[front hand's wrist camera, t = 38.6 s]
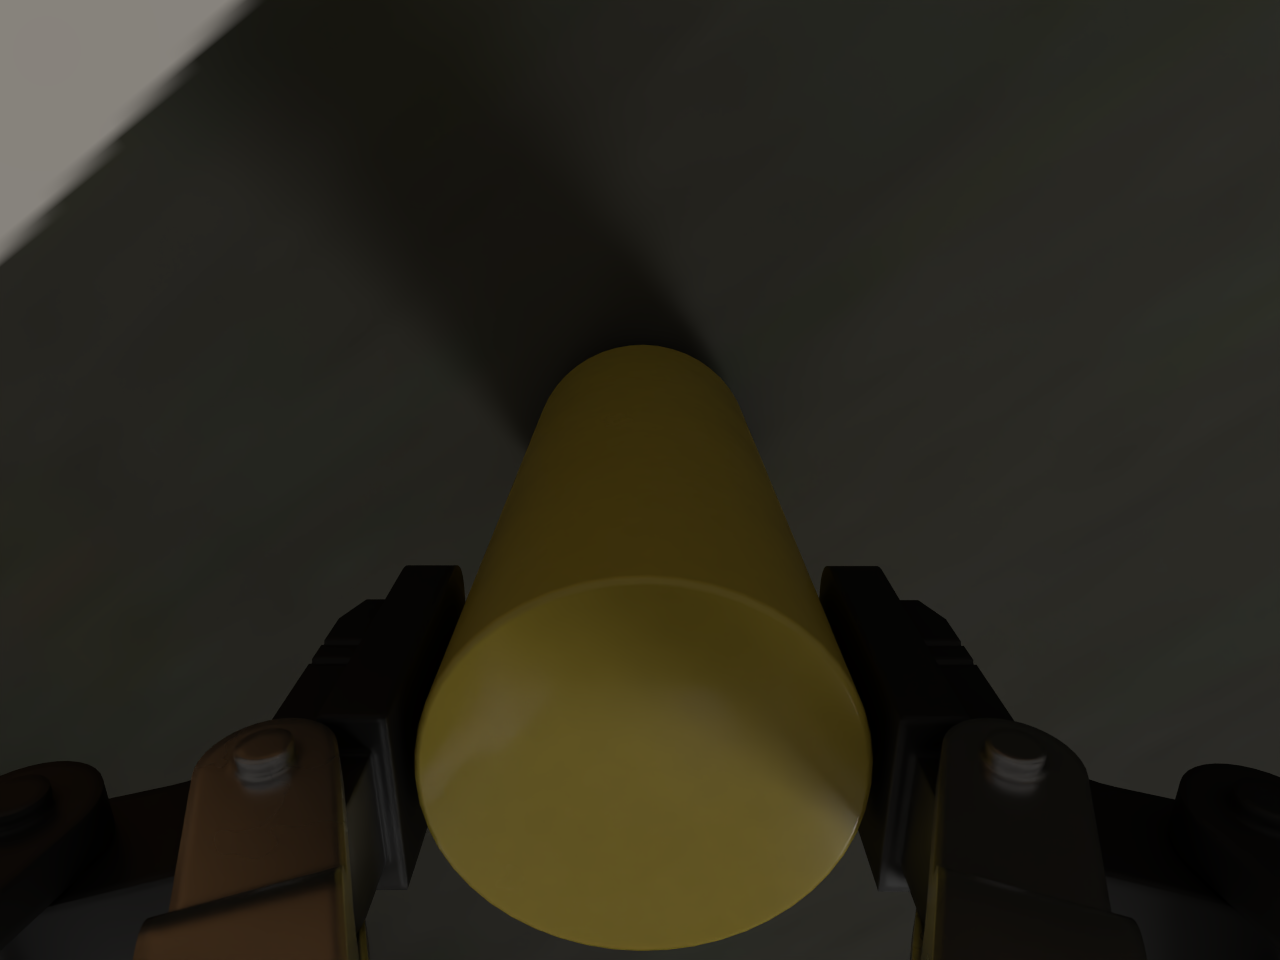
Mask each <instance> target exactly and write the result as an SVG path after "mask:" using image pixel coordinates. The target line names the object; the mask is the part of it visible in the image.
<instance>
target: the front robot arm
mask: <svg viewBox="0 0 1280 960" xmlns="http://www.w3.org/2000/svg"><path fill="white" fill-rule="evenodd" d="M819 600H820V602H821V605H822V607H823V610H824V612H825V614H826V617H827V619H828V622H829V624H830V627H831V629H832V631H833V634H834V636H835V639H836V641H837V644H838V646H839V648H840V651H841V653H842V656H843V658H844V660H845V663H846V665H847V668H848V670H849V673H850V675H851V677H852V680H853V682H854V685H855V687H856V689H857V692H858V694H859V697H860V699H861V702H862V704H863V706H864V709H865V713H866V716H867V720H868V724H869V728H870V731H871V738H872V748H873V773H872V784H871V788H870V793H869V797H868V802H867V806H866V810H865V813H864V815H863V818H862V820H861V823H860V826H859V828H858V831H859V834H860V837H861V840H862V843H863V846H864V849H865V852H866V855H867V858H868V861H869V864H870V867H871V870H872V873H873V876H874V879H875V882H876V886H877V889H878V891H910V892H911V895H912V898H913V900H914V903H915V906H916V914H915V921H914V927H913V933H912V941H911V952H910V960H1280V777H1278V776H1275V775H1273V774H1270V773H1267V772H1264V771H1260V770H1257V769H1253V768H1249V767H1244V766H1239V765H1231V764H1206V765H1201V766H1197V767H1194V768H1192V769H1190V770H1189V771H1187V772H1186V773H1185V774H1184V775H1183V777H1182V779H1181V781H1180V784H1179V788H1178V791H1177V795H1176V798H1175V800H1174V799H1169V798H1165V797H1160V796H1155V795H1151V794H1146V793H1141V792H1136V791H1132V790H1127V789H1122V788H1118V787H1113V786H1109V785H1105V784H1102V783H1098V782H1095V781H1092V780H1089V778H1088V774H1087V771H1086V768H1085V766H1084V765H1083V763H1082V761H1081V760H1080V759H1079V757H1078V756H1077V755H1076V754H1075V753H1074V752H1073V751H1072V750H1071V749H1070V748H1069V747H1068V746H1067V745H1065V744H1064V743H1062V742H1061V741H1060V740H1058V739H1057V738H1055V737H1053V736H1051V735H1050V734H1048V733H1046V732H1044V731H1042V730H1039V729H1037V728H1035V727H1032V726H1029V725H1026V724H1023V723H1019V722H1016V721H1014V720H1013V718H1012V717H1011V715H1010V714H1009V713H1008V711H1007V710H1006V708H1005V707H1004V705H1003V704H1002V702H1001V701H1000V699H999V698H998V696H997V695H996V693H995V692H994V690H993V689H992V687H991V686H990V684H989V683H988V681H987V680H986V678H985V677H984V675H983V674H982V672H981V671H980V669H979V668H978V666H977V665H974V664H973V659H972V657H971V656H970V655H969V653H968V652H967V650H966V649H965V647H964V646H961V641H960V640H959V638H958V637H957V635H956V634H955V632H954V631H953V629H952V628H951V626H950V625H949V623H948V622H947V620H946V619H945V618H943V617H942V616H940V615H939V614H937V613H936V612H934V611H933V610H931V609H930V608H929V607H927V606H926V605H924V604H923V603H921V602H920V601H918V600H899V598H898V596H897V595H896V593H895V591H894V590H893V588H892V586H891V585H890V583H889V581H888V580H887V578H886V576H885V575H884V573H883V571H882V570H881V568H880V567H878V566H826V567H825V568H824V570H823V573H822V577H821V585H820V596H819ZM464 605H465V592H464V582H463V575H462V571H461V568H460V567H459V566H458V565H408V566H405V567H404V568H403V570H402V572H401V573H400V575H399V577H398V578H397V580H396V582H395V584H394V585H393V587H392V589H391V590H390V592H389V594H388V595H387V597H386V599H385V600H365V601H364V602H362V603H361V604H359V605H358V606H356V607H355V608H354V609H352V610H351V611H349V612H348V613H346V614H345V615H343V616H342V617H341V618H339V619H338V621H337V622H336V624H335V625H334V627H333V628H332V630H331V631H330V633H329V634H328V636H327V637H326V639H325V640H324V645H321V647H320V648H319V650H318V651H317V653H316V654H315V656H314V657H313V659H312V664H309V665H308V666H307V668H306V669H305V671H304V672H303V674H302V675H301V677H300V678H299V680H298V681H297V683H296V684H295V686H294V687H293V689H292V690H291V692H290V693H289V695H288V696H287V698H286V699H285V701H284V702H283V704H282V705H281V707H280V708H279V710H278V711H277V713H276V714H275V716H274V717H273V719H272V720H268V721H264V722H261V723H257V724H254V725H251V726H248V727H245V728H243V729H241V730H238V731H236V732H234V733H232V734H230V735H229V736H227V737H225V738H223V739H222V740H220V741H219V742H218V743H216V744H215V745H213V746H212V747H211V748H210V749H209V750H208V751H207V752H206V753H205V754H204V755H203V756H202V757H201V759H200V760H199V761H198V763H197V765H196V766H195V768H194V771H193V774H192V778H191V780H190V781H187V782H183V783H179V784H175V785H171V786H167V787H162V788H157V789H153V790H148V791H143V792H139V793H134V794H129V795H124V796H120V797H115V798H110V799H108V795H107V792H106V788H105V785H104V781H103V778H102V776H101V774H100V773H99V772H98V771H97V770H96V769H95V768H94V767H92V766H90V765H88V764H84V763H80V762H72V761H56V762H48V763H42V764H37V765H32V766H28V767H25V768H22V769H18V770H15V771H12V772H10V773H7V774H4V775H2V776H0V960H370V952H369V941H368V933H367V927H366V921H365V918H366V916H367V913H368V910H369V908H370V905H371V902H372V899H373V897H374V894H375V891H376V890H407V889H408V886H409V883H410V880H411V877H412V874H413V871H414V867H415V864H416V861H417V858H418V855H419V852H420V849H421V846H422V843H423V839H424V836H425V833H426V830H427V827H428V826H427V823H426V820H425V818H424V815H423V812H422V809H421V806H420V803H419V798H418V793H417V787H416V781H415V776H414V748H415V741H416V735H417V728H418V724H419V721H420V718H421V715H422V711H423V708H424V705H425V702H426V699H427V697H428V694H429V692H430V690H431V687H432V685H433V682H434V680H435V677H436V675H437V672H438V670H439V667H440V665H441V662H442V660H443V657H444V655H445V652H446V650H447V647H448V645H449V642H450V640H451V637H452V635H453V632H454V630H455V627H456V625H457V622H458V620H459V617H460V615H461V612H462V610H463V607H464Z"/></svg>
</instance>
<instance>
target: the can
mask: <svg viewBox="0 0 1280 960" xmlns="http://www.w3.org/2000/svg"><path fill="white" fill-rule="evenodd" d="M872 773H873V748H872V738H871V731H870V728H869V724H868V720H867V716H866V713H865V709H864V706H863V704H862V702H861V699H860V697H859V694H858V692H857V689H856V687H855V685H854V682H853V680H852V677H851V675H850V673H849V670H848V668H847V665H846V663H845V660H844V658H843V656H842V653H841V651H840V648H839V646H838V644H837V641H836V639H835V636H834V634H833V631H832V629H831V627H830V624H829V622H828V619H827V617H826V614H825V612H824V610H823V607H822V605H821V602H820V600H819V598H818V595H817V593H816V590H815V588H814V585H813V583H812V581H811V578H810V576H809V573H808V571H807V569H806V566H805V564H804V561H803V559H802V556H801V554H800V552H799V549H798V547H797V544H796V542H795V539H794V537H793V535H792V532H791V530H790V527H789V525H788V523H787V520H786V518H785V515H784V513H783V510H782V508H781V506H780V503H779V501H778V498H777V496H776V494H775V491H774V489H773V486H772V484H771V481H770V479H769V477H768V474H767V472H766V469H765V467H764V465H763V462H762V460H761V457H760V455H759V452H758V450H757V448H756V445H755V443H754V440H753V438H752V435H751V433H750V431H749V428H748V426H747V423H746V421H745V419H744V416H743V414H742V411H741V409H740V407H739V405H738V402H737V400H736V399H735V397H734V395H733V394H732V392H731V390H730V389H729V388H728V386H727V385H726V384H725V383H724V382H723V380H722V379H721V378H720V377H719V376H718V375H717V374H716V373H715V372H713V371H712V370H711V369H710V368H709V367H707V366H706V365H704V364H703V363H702V362H700V361H699V360H697V359H695V358H693V357H691V356H689V355H687V354H685V353H682V352H679V351H676V350H674V349H670V348H665V347H661V346H652V345H630V346H624V347H618V348H614V349H611V350H608V351H604V352H601V353H599V354H597V355H595V356H593V357H591V358H589V359H587V360H586V361H584V362H582V363H581V364H579V365H578V366H576V367H575V368H574V369H573V370H572V371H570V372H569V373H568V374H567V375H566V376H565V377H564V378H563V379H562V380H561V381H560V383H559V384H558V385H557V386H556V388H555V389H554V391H553V392H552V393H551V395H550V396H549V398H548V400H547V402H546V404H545V406H544V408H543V411H542V413H541V416H540V418H539V421H538V423H537V426H536V428H535V431H534V433H533V436H532V438H531V441H530V443H529V446H528V448H527V451H526V453H525V456H524V458H523V461H522V463H521V466H520V468H519V471H518V473H517V476H516V478H515V480H514V483H513V485H512V488H511V490H510V493H509V495H508V498H507V500H506V503H505V505H504V508H503V510H502V513H501V515H500V518H499V520H498V523H497V525H496V528H495V530H494V533H493V535H492V538H491V540H490V543H489V545H488V548H487V550H486V553H485V555H484V558H483V560H482V563H481V565H480V568H479V570H478V573H477V575H476V578H475V580H474V583H473V585H472V587H471V590H470V592H469V595H468V597H467V600H466V602H465V605H464V607H463V610H462V612H461V615H460V617H459V620H458V622H457V625H456V627H455V630H454V632H453V635H452V637H451V640H450V642H449V645H448V647H447V650H446V652H445V655H444V657H443V660H442V662H441V665H440V667H439V670H438V672H437V675H436V677H435V680H434V682H433V685H432V687H431V690H430V692H429V694H428V697H427V699H426V702H425V705H424V708H423V711H422V715H421V718H420V721H419V724H418V728H417V735H416V741H415V748H414V776H415V781H416V787H417V793H418V798H419V803H420V806H421V809H422V812H423V815H424V818H425V820H426V823H427V826H428V828H429V830H430V832H431V834H432V836H433V838H434V840H435V842H436V844H437V846H438V847H439V849H440V850H441V852H442V853H443V855H444V856H445V857H446V859H447V860H448V862H449V863H450V864H451V866H452V867H453V868H454V870H455V871H456V872H457V873H458V874H459V875H460V876H461V877H462V878H463V879H464V880H465V881H466V882H467V883H468V885H469V886H470V887H472V888H473V889H474V890H475V891H476V892H478V893H479V894H480V895H481V896H482V897H484V898H485V899H486V900H487V901H488V902H490V903H491V904H493V905H494V906H496V907H497V908H499V909H500V910H502V911H503V912H505V913H507V914H508V915H510V916H511V917H513V918H515V919H517V920H519V921H521V922H523V923H525V924H527V925H529V926H531V927H533V928H535V929H538V930H540V931H543V932H546V933H548V934H551V935H554V936H556V937H559V938H562V939H566V940H570V941H574V942H577V943H581V944H585V945H591V946H597V947H603V948H609V949H621V950H637V951H644V950H668V949H676V948H684V947H691V946H696V945H701V944H705V943H709V942H714V941H718V940H721V939H724V938H727V937H730V936H733V935H736V934H739V933H742V932H745V931H747V930H749V929H751V928H753V927H756V926H758V925H760V924H762V923H764V922H766V921H768V920H770V919H772V918H774V917H775V916H777V915H779V914H780V913H782V912H783V911H785V910H787V909H788V908H790V907H792V906H793V905H794V904H796V903H797V902H798V901H799V900H801V899H802V898H803V897H805V896H806V895H807V894H808V893H810V892H811V891H812V890H813V889H814V888H815V887H816V886H817V885H818V884H819V883H820V882H821V881H822V880H823V879H824V878H825V877H826V876H827V875H828V874H829V873H830V872H831V871H832V869H833V868H834V867H835V865H836V864H837V863H838V862H839V860H840V859H841V858H842V856H843V855H844V854H845V852H846V850H847V849H848V847H849V845H850V843H851V842H852V840H853V838H854V836H855V835H856V833H857V831H858V828H859V826H860V823H861V820H862V818H863V815H864V813H865V810H866V806H867V802H868V797H869V793H870V788H871V784H872Z"/></svg>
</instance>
